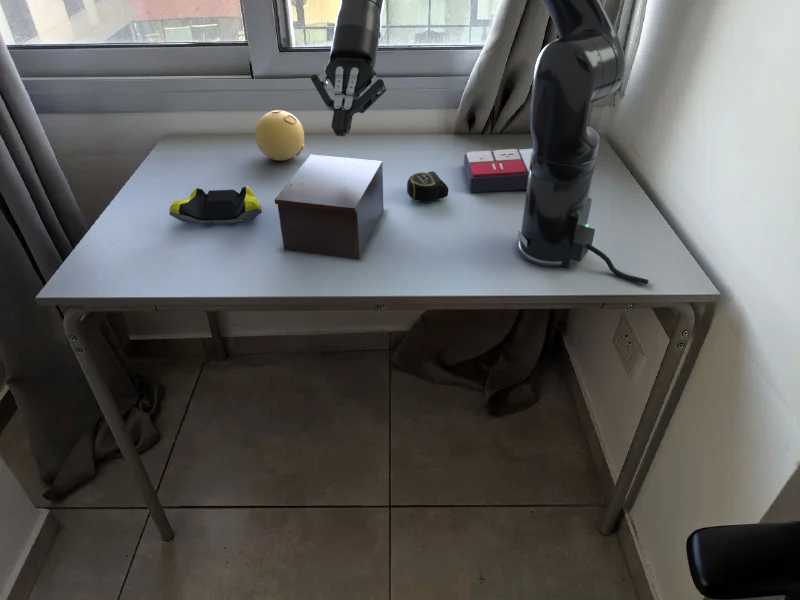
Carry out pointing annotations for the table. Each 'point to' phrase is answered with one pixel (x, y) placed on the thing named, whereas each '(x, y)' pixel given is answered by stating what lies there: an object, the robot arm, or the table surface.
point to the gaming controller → (217, 206)
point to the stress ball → (279, 135)
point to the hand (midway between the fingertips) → (339, 134)
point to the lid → (330, 183)
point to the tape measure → (426, 187)
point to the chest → (333, 226)
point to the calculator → (497, 170)
